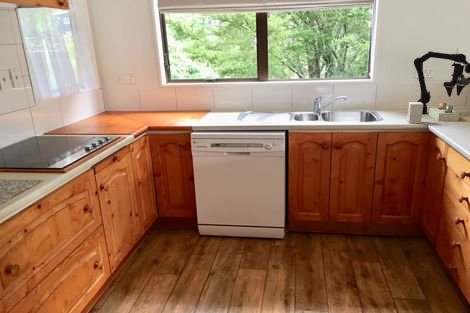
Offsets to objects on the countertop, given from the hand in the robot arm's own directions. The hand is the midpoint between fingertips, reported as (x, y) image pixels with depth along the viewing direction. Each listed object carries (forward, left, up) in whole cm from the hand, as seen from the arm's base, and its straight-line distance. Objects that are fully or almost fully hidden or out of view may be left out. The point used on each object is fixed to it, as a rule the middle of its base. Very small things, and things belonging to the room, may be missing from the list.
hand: (453, 96), depth 251 cm
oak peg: (-8, -4, -9) cm, 12 cm away
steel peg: (-8, -16, -9) cm, 20 cm away
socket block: (-9, -10, -13) cm, 19 cm away
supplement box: (-31, -25, -13) cm, 42 cm away
